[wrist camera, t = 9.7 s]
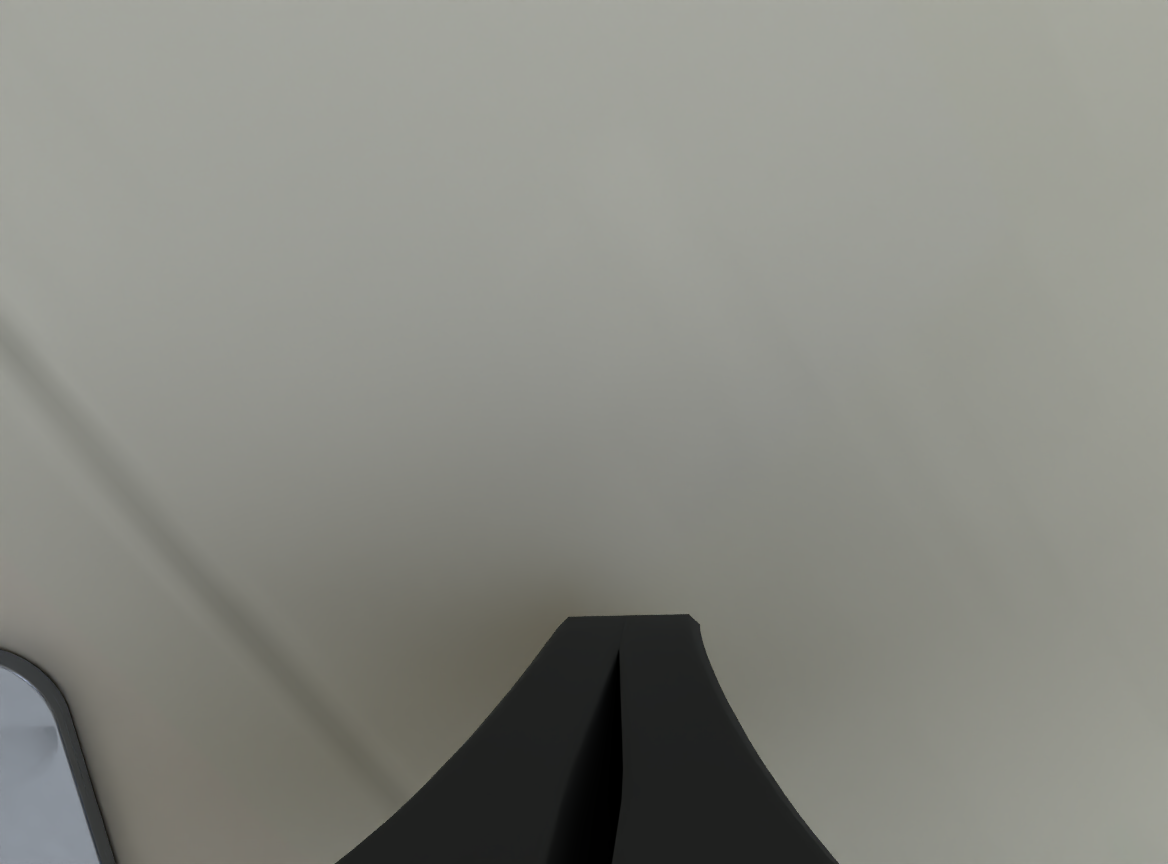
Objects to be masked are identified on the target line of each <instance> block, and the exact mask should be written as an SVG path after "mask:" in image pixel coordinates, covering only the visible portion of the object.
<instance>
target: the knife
mask: <svg viewBox="0 0 1168 864" xmlns="http://www.w3.org/2000/svg"><path fill="white" fill-rule="evenodd" d="M0 864H116V863H115V860H114V857H113V853H112V850H111V847H110V843H109V840H108V837H107V834H106V830H105V827H104V824H103V820H102V817H101V814H100V811H99V807H98V804H97V801H96V797H95V794H94V791H93V788H92V784H91V781H90V778H89V774H88V771H87V768H86V765H85V761H84V758H83V755H82V751H81V748H80V745H79V742H78V738H77V735H76V732H75V728H74V725H73V722H72V719H71V715H70V712H69V709H68V706H67V704H66V702H65V700H64V698H63V696H62V694H61V693H60V691H59V690H58V688H57V687H56V685H55V684H54V683H53V682H52V681H51V680H50V678H49V677H48V676H46V675H45V674H44V673H43V672H42V671H41V670H40V669H38V668H37V667H36V666H35V665H33V664H32V663H30V662H28V661H27V660H25V659H23V658H21V657H19V656H17V655H15V654H13V653H10V652H7V651H4V650H1V649H0Z"/></svg>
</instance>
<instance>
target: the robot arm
mask: <svg viewBox="0 0 1168 864" xmlns="http://www.w3.org/2000/svg"><path fill="white" fill-rule="evenodd" d="M335 864H839V863H838V862H837V861H836V860H835V858H834V857H833V856H832V855H831V854H830V852H829V851H828V850H827V849H826V847H825V846H824V845H823V844H822V843H821V841H820V840H819V839H818V838H817V837H816V835H815V834H814V833H813V832H812V830H811V829H810V828H809V827H808V825H807V824H806V823H805V821H804V820H803V819H802V817H801V816H800V815H799V813H798V812H797V811H796V809H795V808H794V807H793V805H792V804H791V803H790V801H789V800H788V798H787V797H786V796H785V794H784V793H783V791H782V790H781V788H780V787H779V785H778V784H777V782H776V781H775V779H774V778H773V777H772V775H771V774H770V772H769V771H768V769H767V768H766V766H765V765H764V763H763V762H762V760H761V758H760V757H759V755H758V754H757V752H756V750H755V749H754V747H753V746H752V744H751V742H750V741H749V739H748V737H747V735H746V734H745V732H744V730H743V728H742V726H741V725H740V723H739V721H738V719H737V717H736V716H735V714H734V712H733V710H732V708H731V707H730V705H729V703H728V701H727V699H726V697H725V695H724V693H723V691H722V689H721V687H720V685H719V683H718V680H717V678H716V676H715V674H714V671H713V669H712V667H711V664H710V662H709V659H708V656H707V654H706V651H705V648H704V645H703V641H702V637H701V632H700V624H699V623H698V622H697V621H695V620H694V619H693V618H692V617H691V616H690V615H689V614H675V615H629V616H582V617H568V618H567V619H566V620H565V621H564V622H563V623H562V624H561V625H560V626H559V627H558V628H557V629H556V631H555V632H554V634H553V635H552V636H551V638H550V639H549V640H548V642H547V643H546V644H545V646H544V647H543V648H542V650H541V651H540V652H539V654H538V655H537V656H536V658H535V659H534V660H533V662H532V663H531V664H530V666H529V667H528V668H527V669H526V671H525V672H524V673H523V675H522V676H521V677H520V678H519V680H518V681H517V682H516V683H515V685H514V686H513V687H512V689H511V690H510V691H509V692H508V693H507V695H506V696H505V697H504V698H503V699H502V700H501V702H500V703H499V704H498V705H497V706H496V708H495V709H494V710H493V711H492V712H491V713H490V715H489V716H488V717H487V718H486V719H485V721H484V722H483V723H482V724H481V725H480V727H479V728H478V729H477V730H476V731H475V732H474V733H473V735H472V736H471V737H470V738H469V739H468V740H467V741H466V742H465V743H464V744H463V745H462V746H461V748H460V749H459V750H458V751H457V752H456V753H455V754H454V755H453V756H452V757H451V758H450V759H449V760H448V761H447V762H446V763H445V764H444V765H443V766H442V767H441V768H440V769H439V770H438V772H437V773H436V774H435V775H434V776H433V777H432V778H431V779H430V780H429V781H428V782H427V783H426V784H425V785H424V786H423V787H422V788H421V789H420V790H419V791H418V792H417V793H416V794H415V795H414V796H413V797H412V798H411V799H410V800H409V801H408V802H407V803H405V804H404V805H403V806H402V807H401V808H400V809H399V810H398V811H397V812H396V813H395V814H394V815H393V816H392V817H390V818H389V819H388V820H387V821H386V822H385V823H384V824H382V825H381V826H380V827H379V828H378V829H377V830H375V831H374V832H373V833H372V834H371V835H369V836H368V837H367V838H366V839H365V840H364V841H362V842H361V843H360V844H359V845H358V846H356V847H355V848H354V849H353V850H352V851H350V852H349V853H348V854H347V855H345V856H344V857H343V858H341V859H340V860H339V861H338V862H336V863H335Z"/></svg>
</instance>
